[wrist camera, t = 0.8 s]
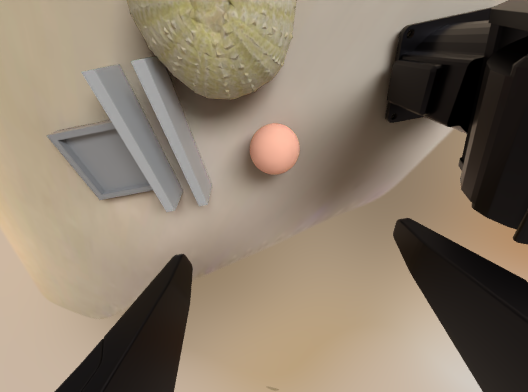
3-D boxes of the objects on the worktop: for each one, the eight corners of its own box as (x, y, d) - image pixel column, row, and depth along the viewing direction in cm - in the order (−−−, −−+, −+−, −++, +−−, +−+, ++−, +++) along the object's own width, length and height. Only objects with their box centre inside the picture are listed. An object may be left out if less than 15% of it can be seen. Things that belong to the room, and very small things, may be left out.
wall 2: (161, 55, 14) (143, 58, 12) (212, 185, 21) (207, 204, 19) (149, 57, 14) (130, 61, 12) (204, 187, 21) (199, 206, 19)
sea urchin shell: (191, 127, 16) (83, 35, 8) (171, 38, 17) (61, -121, 9) (311, 87, 14) (327, -70, 7) (281, -6, 16) (265, -232, 8)
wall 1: (119, 64, 14) (94, 69, 12) (183, 191, 21) (175, 210, 19) (108, 66, 15) (81, 71, 12) (175, 192, 21) (166, 212, 19)
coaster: (131, 115, 16) (126, 119, 16) (167, 182, 20) (164, 187, 20) (55, 131, 17) (46, 135, 16) (105, 193, 21) (99, 200, 20)
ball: (292, 112, 17) (302, 129, 14) (296, 156, 20) (305, 178, 16) (244, 122, 17) (244, 140, 14) (254, 164, 20) (255, 188, 17)
